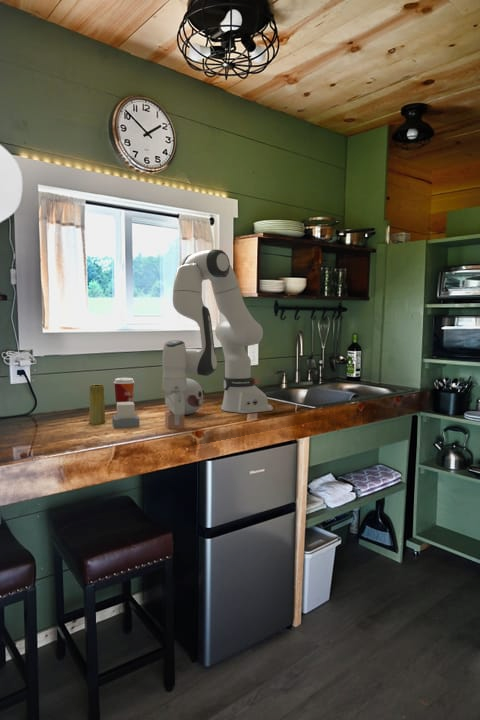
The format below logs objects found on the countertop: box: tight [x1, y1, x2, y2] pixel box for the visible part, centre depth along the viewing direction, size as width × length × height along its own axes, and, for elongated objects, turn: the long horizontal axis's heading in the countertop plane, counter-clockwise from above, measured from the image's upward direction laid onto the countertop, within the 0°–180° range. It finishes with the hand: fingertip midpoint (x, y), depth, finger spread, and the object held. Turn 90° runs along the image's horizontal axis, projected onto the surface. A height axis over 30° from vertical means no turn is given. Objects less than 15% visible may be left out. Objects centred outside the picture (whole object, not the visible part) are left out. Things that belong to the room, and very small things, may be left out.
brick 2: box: [164, 411, 185, 430], centre depth 183 cm, size 6×6×5 cm
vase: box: [88, 383, 107, 425], centre depth 187 cm, size 6×6×14 cm
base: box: [111, 412, 140, 429], centre depth 185 cm, size 9×9×3 cm
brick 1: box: [116, 401, 136, 419], centre depth 185 cm, size 6×6×5 cm
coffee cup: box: [113, 377, 135, 411], centre depth 200 cm, size 8×8×15 cm
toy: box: [183, 377, 205, 416], centre depth 204 cm, size 15×15×15 cm
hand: (174, 422), depth 183 cm, fingers closed on brick 2, 6 cm apart
